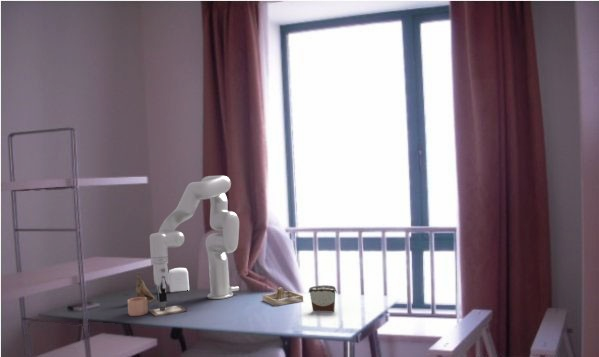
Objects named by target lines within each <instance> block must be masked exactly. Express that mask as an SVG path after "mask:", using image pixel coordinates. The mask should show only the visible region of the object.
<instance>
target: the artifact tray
mask: <svg viewBox="0 0 599 357" xmlns="http://www.w3.org/2000/svg"><path fill="white" fill-rule="evenodd" d="M275 296H276V292H274V293H269V294H263V295H262V301H263V302H265V303H268V304H270V305H272V306H274V307H277V306H282V305H290V304H294V303H299V302H304V295H302V294H299V293H297V292H293V291H291V290H286V291H285V290H284V295H283V296H284V297H283V299H279V300H276V299H275Z"/></svg>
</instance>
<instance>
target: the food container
mask: <svg viewBox="0 0 599 357" xmlns="http://www.w3.org/2000/svg"><path fill="white" fill-rule="evenodd" d="M308 293H309V296H310V302H311V308H312V312H321V313H322V312H324V313H325V312H326V313H328V312H329V313H330V312H331V313H335V310H336V308H335V307H336V294H337V288H336V286H334V285H328V284H327V285H325V284H323V285H315V286H310V287H309V289H308Z"/></svg>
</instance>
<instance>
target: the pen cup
mask: <svg viewBox="0 0 599 357" xmlns="http://www.w3.org/2000/svg"><path fill="white" fill-rule="evenodd" d="M127 310H128V311H127V313H128V316H131V317H137V316H138V317H139V316H143V315H144V316H145V315H147V313H148V312H149V307H148V303H147V298H146V297H138V296H137V297H131V298H129V299H127Z"/></svg>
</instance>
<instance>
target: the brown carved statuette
mask: <svg viewBox="0 0 599 357" xmlns="http://www.w3.org/2000/svg"><path fill="white" fill-rule="evenodd" d="M136 277H137V279H136V286H135V293H136V296H137V297H146V298H147V304H148V303H151V302H155V301H156V297H155V296H154V295H153V294H152V293H151V291H150V290H149V289H148V287H147V286H146V284H145V282H144V280H143V279H142V278H141V275H140V273H137V274H136Z"/></svg>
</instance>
